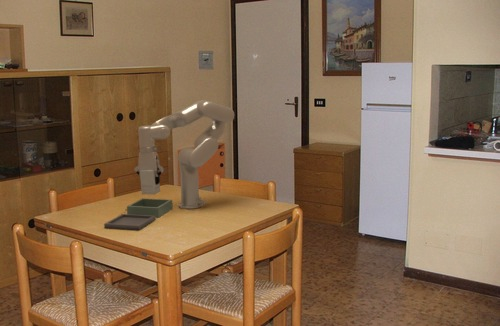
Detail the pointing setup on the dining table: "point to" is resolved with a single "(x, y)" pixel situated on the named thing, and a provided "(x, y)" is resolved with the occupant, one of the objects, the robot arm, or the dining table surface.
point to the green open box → (150, 207)
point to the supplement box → (149, 182)
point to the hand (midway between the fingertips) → (150, 183)
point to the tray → (130, 222)
